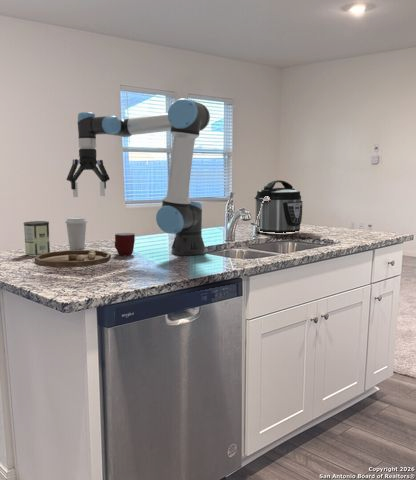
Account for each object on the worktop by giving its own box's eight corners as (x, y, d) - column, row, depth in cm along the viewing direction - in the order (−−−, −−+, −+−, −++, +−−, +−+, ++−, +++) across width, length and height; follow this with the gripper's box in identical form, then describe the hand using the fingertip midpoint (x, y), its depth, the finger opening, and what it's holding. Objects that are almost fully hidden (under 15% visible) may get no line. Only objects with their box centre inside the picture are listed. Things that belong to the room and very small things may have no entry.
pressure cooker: (261, 236, 271) (262, 180, 267) (247, 231, 299) (248, 179, 294) (310, 235, 277) (312, 180, 273) (292, 230, 305) (293, 180, 300)
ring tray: (124, 260, 195) (123, 252, 194) (77, 272, 170) (77, 264, 169) (70, 254, 207) (70, 247, 206) (20, 265, 182) (19, 257, 181)
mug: (107, 257, 201) (106, 233, 199) (121, 254, 207) (120, 232, 206) (125, 260, 195) (124, 235, 193) (138, 257, 201) (138, 233, 200)
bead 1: (86, 262, 183) (85, 254, 182) (80, 263, 180) (80, 255, 179) (79, 261, 184) (79, 254, 183) (74, 262, 181) (74, 255, 181)
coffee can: (35, 252, 213) (34, 220, 211) (55, 253, 210) (53, 221, 208) (19, 255, 204) (18, 222, 202) (39, 257, 200) (38, 223, 198)
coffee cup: (76, 253, 211) (75, 219, 209) (61, 251, 216) (60, 218, 214) (92, 250, 219) (91, 217, 217) (77, 248, 224) (76, 216, 222)
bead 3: (97, 260, 187) (96, 252, 187) (92, 261, 185) (92, 253, 184) (91, 259, 189) (90, 252, 188) (86, 260, 186) (85, 253, 186)
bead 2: (97, 257, 193) (97, 250, 192) (92, 258, 190) (92, 251, 190) (91, 257, 194) (91, 249, 194) (86, 258, 192) (86, 250, 191)
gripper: (107, 149, 223) (108, 195, 225) (57, 147, 205) (59, 197, 208) (116, 149, 217) (117, 195, 220) (65, 147, 200) (67, 197, 203)
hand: (89, 196), depth 214 cm, fingers open, 13 cm apart
